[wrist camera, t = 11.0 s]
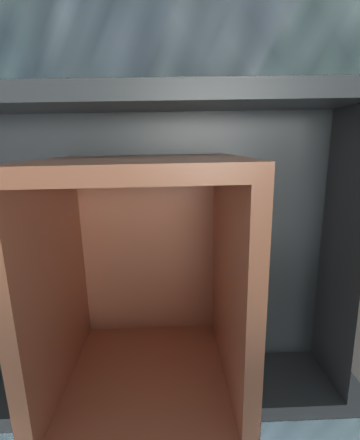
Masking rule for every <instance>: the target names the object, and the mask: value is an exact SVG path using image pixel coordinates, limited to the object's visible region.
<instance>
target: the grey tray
mask: <svg viewBox="0 0 360 440" xmlns="http://www.w3.org/2000/svg"><path fill="white" fill-rule="evenodd" d="M219 153H224V154H231V155H237V156H244V157H250V158H256V159H263V160H269V161H275V176H274V194H273V212H272V230H271V249H270V267H269V285H268V303H267V322H266V340H265V358H264V376H263V395H262V413H261V422H274V421H298V420H322V419H345V418H360V382H359V381H358V380H357V379H356V377H355V376H354V375H353V374H352V372H351V367H352V359H353V351H354V342H355V334H356V326H357V318H358V309H359V301H360V75H289V76H208V77H127V78H47V79H0V164H2V163H11V162H20V161H29V160H38V159H47V158H57V157H66V156H113V155H166V154H219ZM0 433H13V431H12V426H11V420H10V415H9V409H8V404H7V398H6V393H5V387H4V381H3V376H2V370H1V365H0Z"/></svg>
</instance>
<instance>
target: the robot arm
mask: <svg viewBox="0 0 360 440" xmlns="http://www.w3.org/2000/svg"><path fill="white" fill-rule="evenodd" d="M351 372H352V374H353V375H354V376H355V377H356V379H357V380H358V381H359V382H360V301H359V309H358V318H357V326H356V334H355V342H354V351H353V359H352V367H351Z"/></svg>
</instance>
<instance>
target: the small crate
mask: <svg viewBox="0 0 360 440" xmlns="http://www.w3.org/2000/svg"><path fill="white" fill-rule="evenodd" d="M274 176H275V161H269V160H263V159H256V158H250V157H244V156H237V155H231V154H224V153H219V154H166V155H113V156H66V157H57V158H47V159H38V160H29V161H20V162H11V163H2V164H0V365H1V370H2V376H3V381H4V387H5V393H6V398H7V404H8V409H9V415H10V420H11V426H12V431H13V437H14V440H260V431H261V413H262V395H263V376H264V358H265V340H266V322H267V303H268V285H269V267H270V249H271V230H272V212H273V194H274Z"/></svg>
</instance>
